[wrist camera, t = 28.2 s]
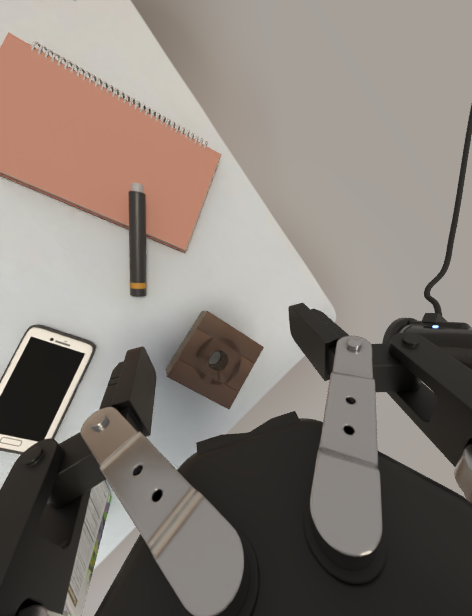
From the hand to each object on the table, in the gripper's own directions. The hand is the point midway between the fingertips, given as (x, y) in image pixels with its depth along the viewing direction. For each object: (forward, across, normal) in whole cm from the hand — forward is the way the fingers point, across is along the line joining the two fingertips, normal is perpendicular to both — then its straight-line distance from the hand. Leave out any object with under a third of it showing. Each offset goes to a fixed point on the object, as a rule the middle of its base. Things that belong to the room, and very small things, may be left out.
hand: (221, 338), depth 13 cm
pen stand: (+19, +2, +16) cm, 25 cm away
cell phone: (+16, +23, +11) cm, 30 cm away
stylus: (+25, +5, -8) cm, 26 cm away
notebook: (+31, +8, -12) cm, 34 cm away
